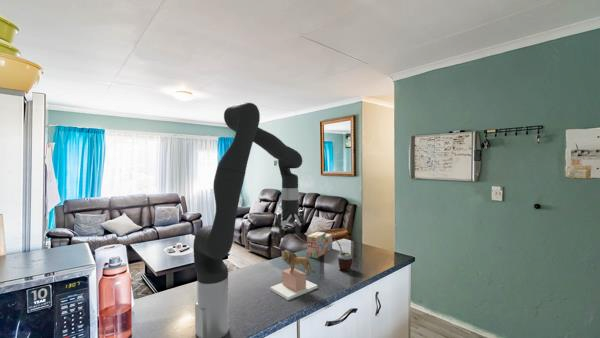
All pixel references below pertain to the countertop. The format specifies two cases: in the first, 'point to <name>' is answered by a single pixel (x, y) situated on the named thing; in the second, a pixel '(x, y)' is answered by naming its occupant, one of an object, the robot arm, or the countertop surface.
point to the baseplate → (291, 294)
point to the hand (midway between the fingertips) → (290, 235)
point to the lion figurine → (296, 261)
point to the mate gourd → (344, 260)
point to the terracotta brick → (294, 279)
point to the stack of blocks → (318, 244)
